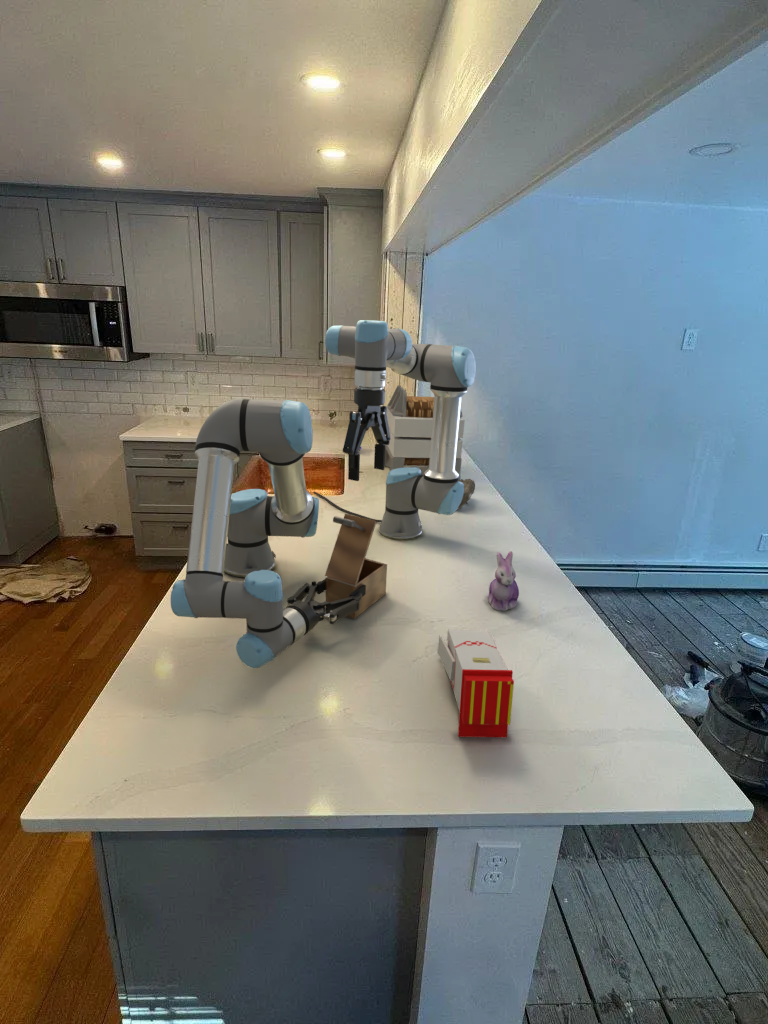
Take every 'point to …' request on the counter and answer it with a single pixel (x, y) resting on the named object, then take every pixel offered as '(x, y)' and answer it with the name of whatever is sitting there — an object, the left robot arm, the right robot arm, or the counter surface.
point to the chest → (370, 576)
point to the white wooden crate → (413, 431)
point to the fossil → (467, 491)
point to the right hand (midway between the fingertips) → (366, 474)
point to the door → (350, 548)
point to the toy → (478, 682)
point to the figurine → (503, 584)
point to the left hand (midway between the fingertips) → (348, 584)
